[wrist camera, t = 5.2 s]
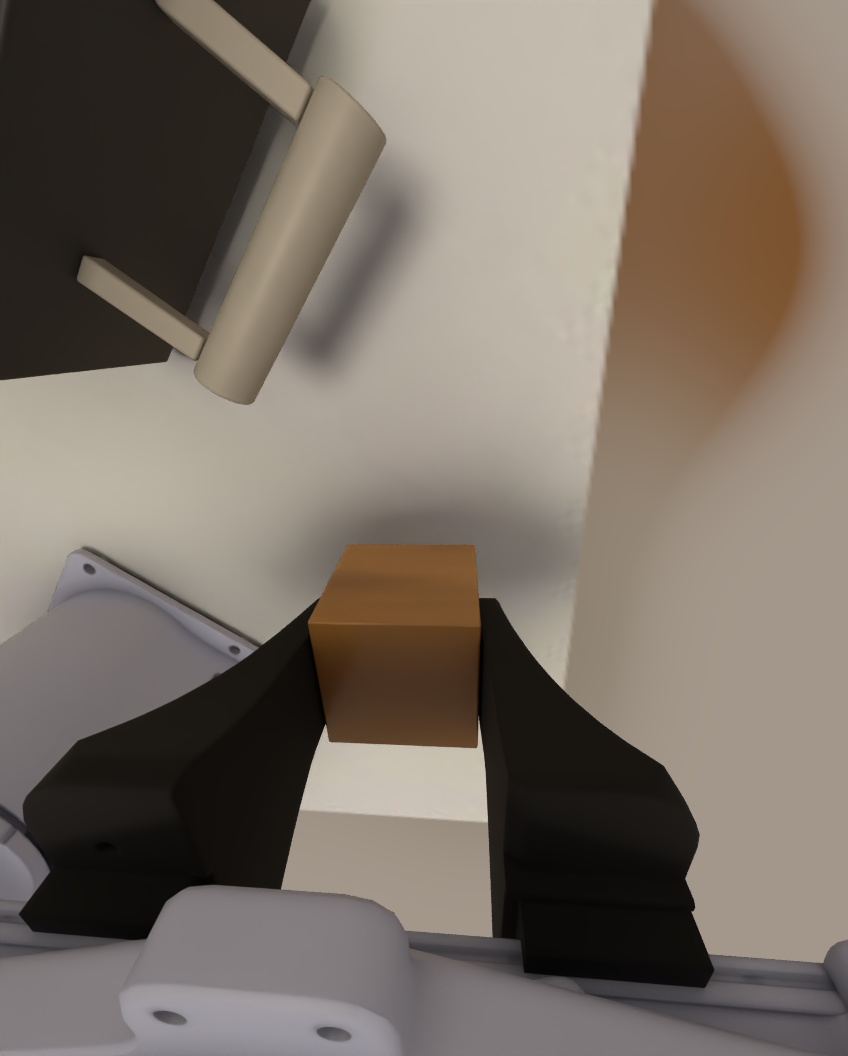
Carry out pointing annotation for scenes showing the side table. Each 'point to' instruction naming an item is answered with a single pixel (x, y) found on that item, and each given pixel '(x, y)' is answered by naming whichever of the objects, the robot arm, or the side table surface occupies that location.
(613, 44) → the side table surface
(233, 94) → the black drawer
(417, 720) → the block
